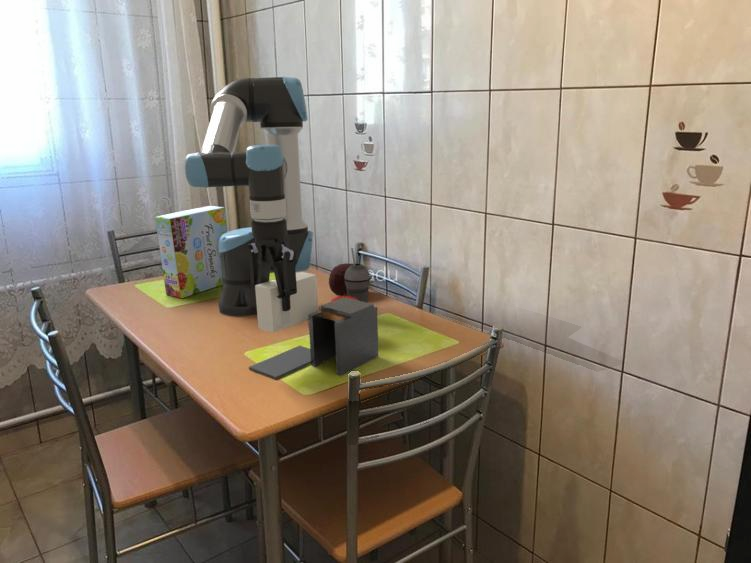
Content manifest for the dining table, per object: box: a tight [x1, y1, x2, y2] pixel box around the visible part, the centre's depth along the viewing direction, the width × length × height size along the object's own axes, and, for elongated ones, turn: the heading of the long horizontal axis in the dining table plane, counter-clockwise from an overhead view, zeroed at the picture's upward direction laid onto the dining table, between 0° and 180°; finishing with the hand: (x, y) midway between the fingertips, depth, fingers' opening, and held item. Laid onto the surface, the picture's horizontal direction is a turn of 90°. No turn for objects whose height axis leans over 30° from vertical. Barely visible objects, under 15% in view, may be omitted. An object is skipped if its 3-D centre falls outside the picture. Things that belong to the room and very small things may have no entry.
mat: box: [248, 345, 311, 380], centre depth 146 cm, size 9×16×1 cm, turn 141°
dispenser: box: [308, 297, 379, 377], centre depth 144 cm, size 9×13×13 cm
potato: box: [328, 262, 353, 297], centre depth 193 cm, size 11×13×10 cm
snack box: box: [154, 205, 228, 299], centre depth 201 cm, size 22×9×26 cm, turn 144°
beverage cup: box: [344, 247, 371, 303], centre depth 171 cm, size 7×7×20 cm
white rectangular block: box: [255, 271, 319, 334], centre depth 142 cm, size 5×14×10 cm, turn 140°
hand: (275, 321), depth 140 cm, fingers closed on white rectangular block, 5 cm apart
